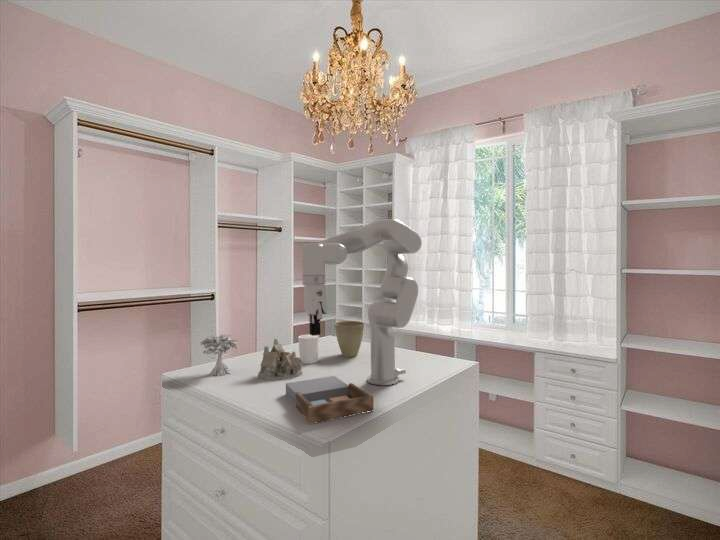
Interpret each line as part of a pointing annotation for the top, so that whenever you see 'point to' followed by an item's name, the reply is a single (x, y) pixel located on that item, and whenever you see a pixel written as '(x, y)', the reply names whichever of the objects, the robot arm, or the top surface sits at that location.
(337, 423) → the top surface
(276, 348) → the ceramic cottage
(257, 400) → the top surface
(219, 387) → the top surface
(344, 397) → the terracotta tile
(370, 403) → the box
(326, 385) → the grey flat block
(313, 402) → the blue-grey tile
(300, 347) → the candle holder
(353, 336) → the plant pot
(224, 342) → the tree
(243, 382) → the top surface
